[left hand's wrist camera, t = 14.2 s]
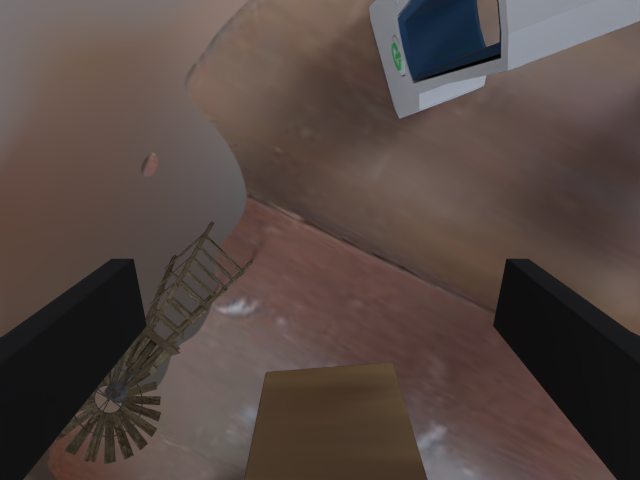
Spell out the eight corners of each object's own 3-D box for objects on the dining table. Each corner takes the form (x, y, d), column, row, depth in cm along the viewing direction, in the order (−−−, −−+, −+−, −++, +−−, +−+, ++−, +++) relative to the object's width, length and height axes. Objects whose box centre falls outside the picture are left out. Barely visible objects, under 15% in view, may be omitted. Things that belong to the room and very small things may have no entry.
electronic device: (365, 10, 40) (470, -221, 12) (429, -16, 39) (705, -335, 11) (395, 119, 44) (527, 135, 16) (454, 97, 43) (702, 72, 15)
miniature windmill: (169, 254, 51) (-20, 435, 22) (210, 217, 49) (60, 365, 21) (215, 297, 53) (97, 509, 25) (256, 263, 51) (178, 452, 23)
